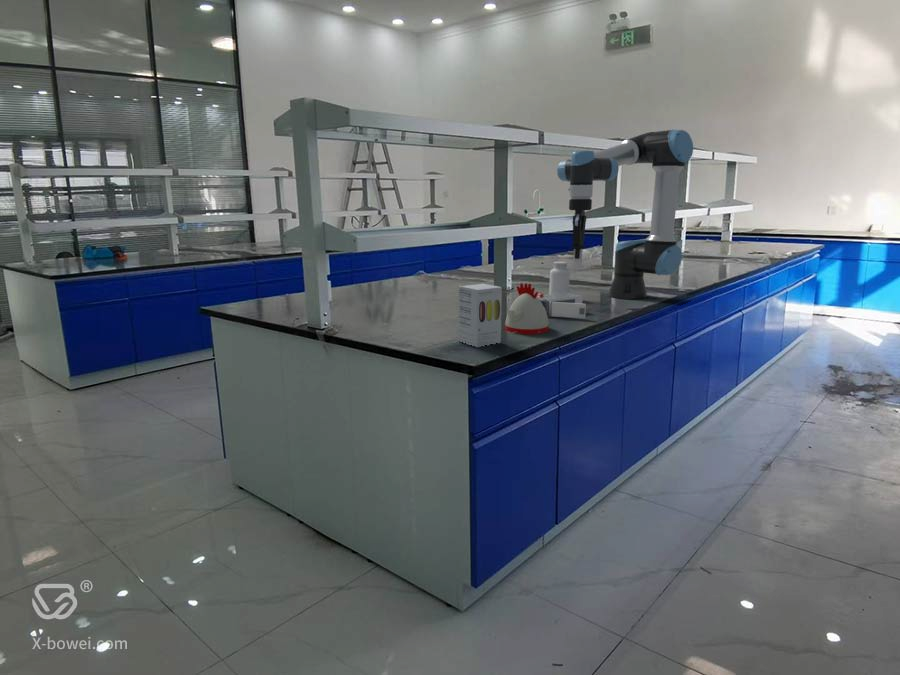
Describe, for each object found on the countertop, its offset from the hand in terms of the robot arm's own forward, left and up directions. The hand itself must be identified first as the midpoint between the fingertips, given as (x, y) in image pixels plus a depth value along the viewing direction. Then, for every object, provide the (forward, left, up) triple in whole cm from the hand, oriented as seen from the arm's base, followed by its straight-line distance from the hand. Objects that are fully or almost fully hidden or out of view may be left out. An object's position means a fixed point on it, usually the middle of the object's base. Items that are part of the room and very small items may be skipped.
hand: (577, 267), depth 211 cm
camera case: (+3, -9, -17) cm, 20 cm away
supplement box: (+49, +15, -17) cm, 54 cm away
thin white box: (+5, +2, -17) cm, 18 cm away
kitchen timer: (+27, +8, -17) cm, 33 cm away
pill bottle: (-16, -30, -17) cm, 38 cm away
